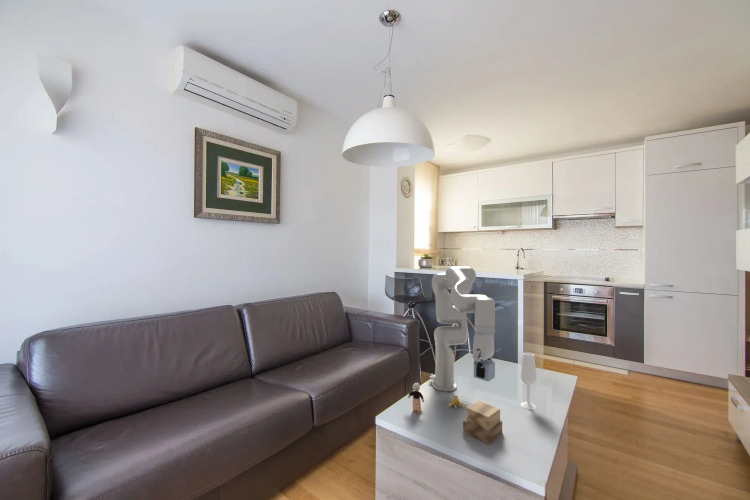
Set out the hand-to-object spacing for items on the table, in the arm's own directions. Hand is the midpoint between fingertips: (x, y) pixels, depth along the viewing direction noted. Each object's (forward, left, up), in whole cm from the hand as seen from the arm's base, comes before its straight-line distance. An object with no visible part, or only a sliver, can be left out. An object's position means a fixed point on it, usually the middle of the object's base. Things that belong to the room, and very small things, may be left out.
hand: (484, 374), depth 125 cm
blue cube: (0, 0, -1) cm, 1 cm away
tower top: (0, 0, -18) cm, 18 cm away
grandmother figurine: (-29, -5, -23) cm, 38 cm away
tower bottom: (0, 0, -23) cm, 23 cm away
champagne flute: (+5, +36, -23) cm, 43 cm away
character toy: (-19, +11, -24) cm, 33 cm away
